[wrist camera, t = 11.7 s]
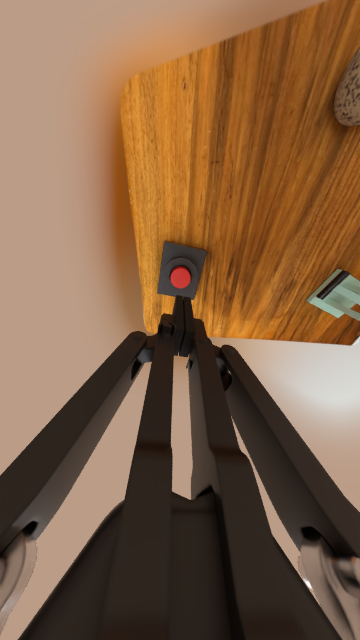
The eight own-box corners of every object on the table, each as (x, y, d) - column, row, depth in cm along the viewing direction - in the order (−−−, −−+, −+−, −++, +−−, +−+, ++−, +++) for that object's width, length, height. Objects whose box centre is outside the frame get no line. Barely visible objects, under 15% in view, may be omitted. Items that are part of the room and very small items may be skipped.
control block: (165, 240, 28) (163, 242, 25) (205, 249, 29) (209, 252, 25) (158, 289, 33) (156, 296, 30) (193, 296, 34) (194, 303, 31)
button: (172, 264, 27) (172, 266, 25) (192, 268, 27) (192, 270, 26) (169, 283, 29) (169, 286, 27) (187, 286, 29) (188, 290, 28)
